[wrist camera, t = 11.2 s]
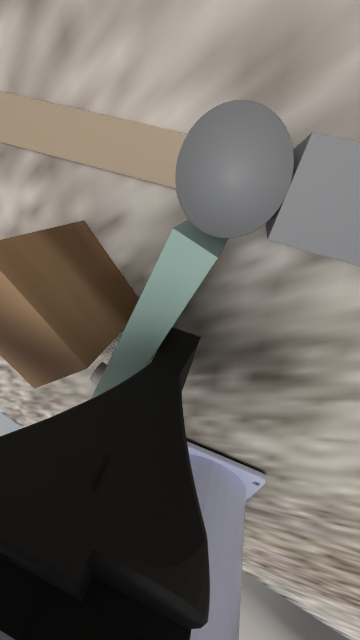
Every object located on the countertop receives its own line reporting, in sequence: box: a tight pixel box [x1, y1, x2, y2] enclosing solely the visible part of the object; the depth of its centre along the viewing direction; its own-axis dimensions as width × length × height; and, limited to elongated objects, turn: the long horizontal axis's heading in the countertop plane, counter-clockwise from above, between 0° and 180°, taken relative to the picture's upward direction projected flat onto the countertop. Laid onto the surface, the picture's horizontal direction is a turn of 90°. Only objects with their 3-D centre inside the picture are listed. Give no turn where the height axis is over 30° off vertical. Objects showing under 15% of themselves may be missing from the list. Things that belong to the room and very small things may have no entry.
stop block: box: [0, 221, 139, 388], centre depth 10 cm, size 4×5×5 cm
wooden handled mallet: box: [0, 91, 360, 266], centre depth 6 cm, size 2×21×5 cm, turn 78°
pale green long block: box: [90, 220, 228, 399], centre depth 10 cm, size 10×3×4 cm, turn 152°
